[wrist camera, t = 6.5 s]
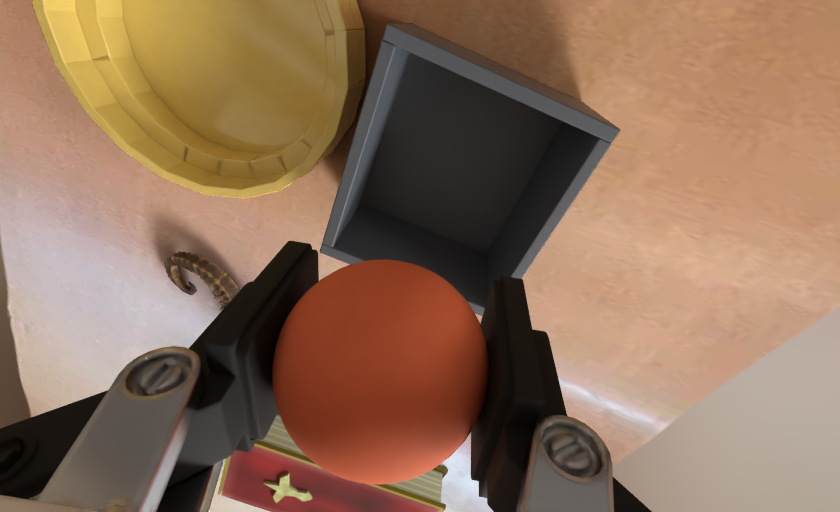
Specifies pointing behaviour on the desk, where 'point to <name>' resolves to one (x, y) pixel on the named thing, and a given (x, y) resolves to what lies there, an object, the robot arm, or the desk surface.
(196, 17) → the bowl
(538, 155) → the bin
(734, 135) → the desk surface
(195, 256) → the seahorse
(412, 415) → the toy ball
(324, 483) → the hardcover book
